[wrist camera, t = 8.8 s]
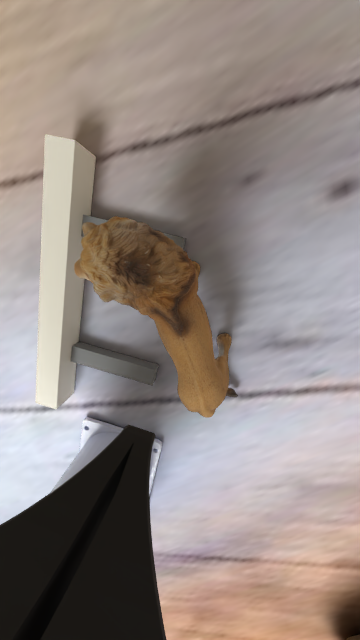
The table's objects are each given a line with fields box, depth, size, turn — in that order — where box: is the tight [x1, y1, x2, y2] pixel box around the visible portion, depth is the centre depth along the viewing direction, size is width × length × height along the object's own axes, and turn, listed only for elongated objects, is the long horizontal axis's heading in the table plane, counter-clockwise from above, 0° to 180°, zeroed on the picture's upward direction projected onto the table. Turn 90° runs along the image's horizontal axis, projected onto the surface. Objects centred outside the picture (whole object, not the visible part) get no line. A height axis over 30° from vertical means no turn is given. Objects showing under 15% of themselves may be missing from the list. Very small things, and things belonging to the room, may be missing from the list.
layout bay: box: [36, 134, 186, 409], centre depth 18 cm, size 20×10×2 cm, turn 167°
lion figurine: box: [74, 216, 238, 417], centre depth 14 cm, size 15×5×9 cm, turn 31°
